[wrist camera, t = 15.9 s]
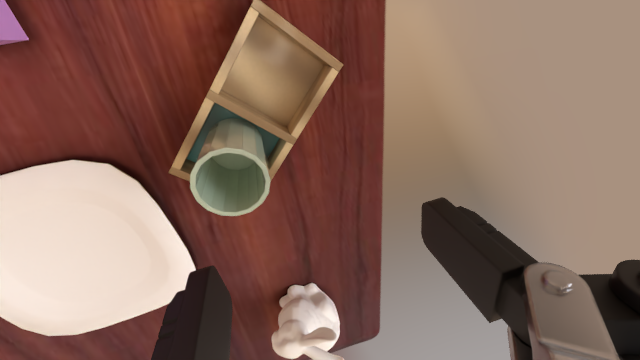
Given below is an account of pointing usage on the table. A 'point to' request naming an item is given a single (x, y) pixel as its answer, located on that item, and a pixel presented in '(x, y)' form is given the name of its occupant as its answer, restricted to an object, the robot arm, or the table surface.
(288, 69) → the holder
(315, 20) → the table surface
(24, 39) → the teapot
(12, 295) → the plate
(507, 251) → the robot arm
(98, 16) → the table surface
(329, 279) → the table surface
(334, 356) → the rabbit
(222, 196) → the cup
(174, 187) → the table surface
